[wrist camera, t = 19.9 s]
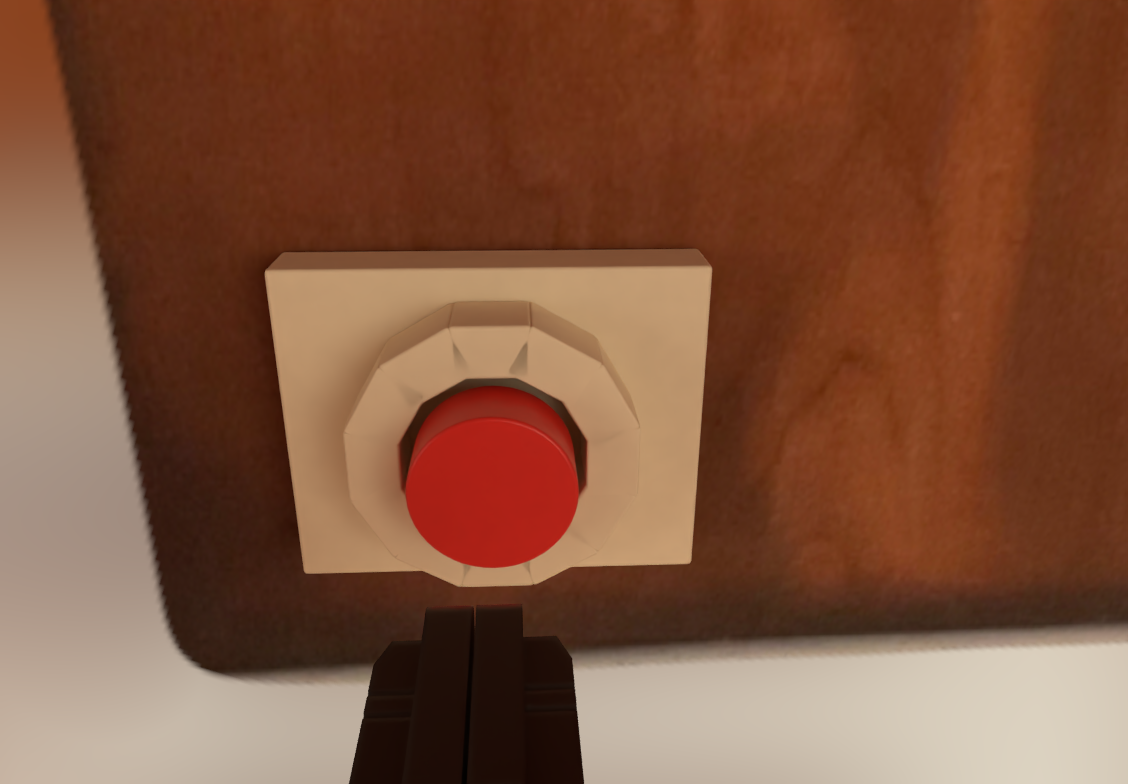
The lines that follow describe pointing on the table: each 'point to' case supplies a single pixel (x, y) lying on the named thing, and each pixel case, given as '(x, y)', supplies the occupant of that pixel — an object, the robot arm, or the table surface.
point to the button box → (491, 358)
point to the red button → (492, 477)
